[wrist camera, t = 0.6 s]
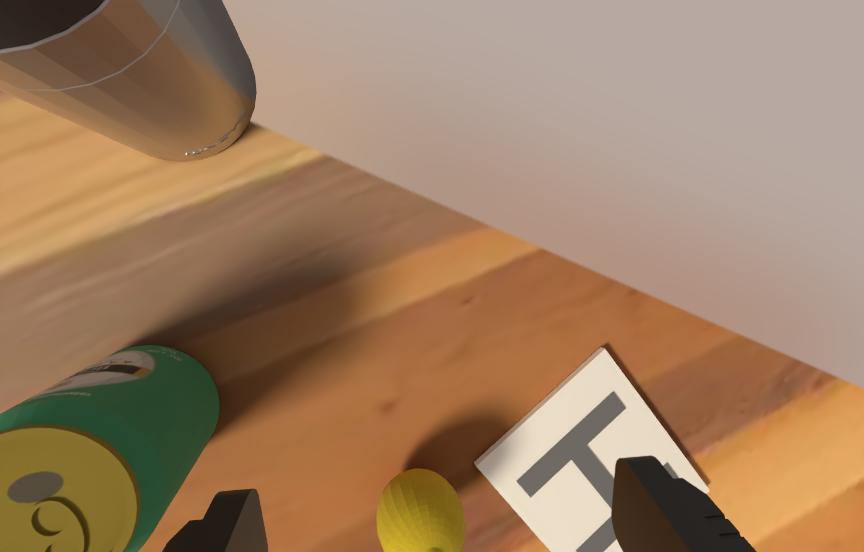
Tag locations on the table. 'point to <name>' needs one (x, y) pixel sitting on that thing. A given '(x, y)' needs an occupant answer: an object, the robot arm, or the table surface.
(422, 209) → the table surface
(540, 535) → the letter board
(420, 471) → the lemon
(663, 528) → the robot arm
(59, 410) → the beverage can
